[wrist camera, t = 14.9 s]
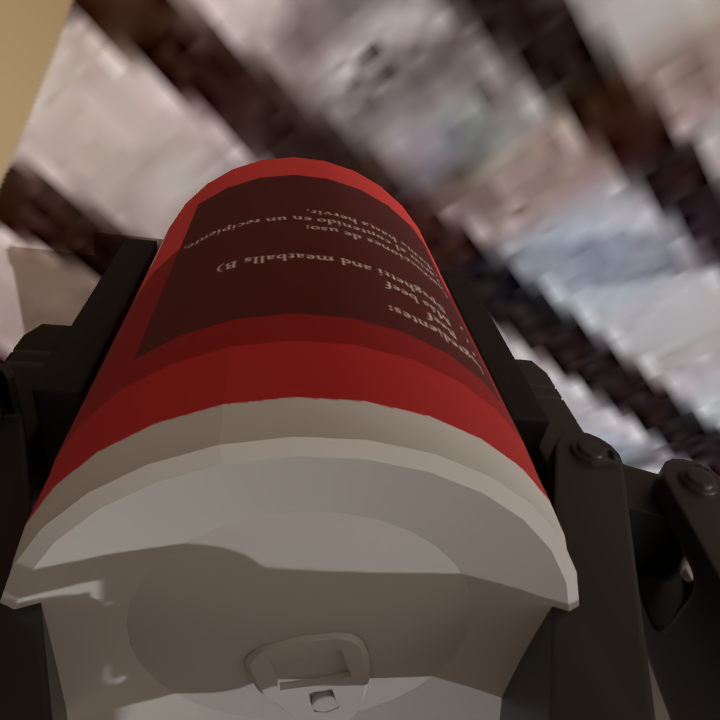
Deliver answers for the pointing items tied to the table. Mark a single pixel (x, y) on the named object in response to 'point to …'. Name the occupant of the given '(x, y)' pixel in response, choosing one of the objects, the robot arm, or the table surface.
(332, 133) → the table surface
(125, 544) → the canned food
